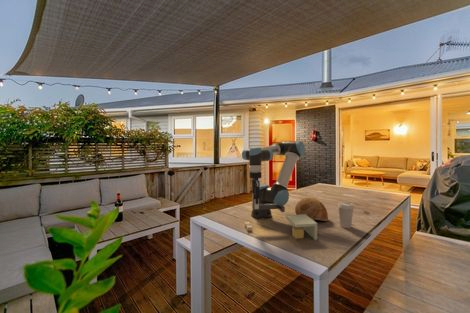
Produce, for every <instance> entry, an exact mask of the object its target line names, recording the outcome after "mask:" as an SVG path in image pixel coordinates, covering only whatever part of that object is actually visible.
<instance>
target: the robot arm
mask: <svg viewBox="0 0 470 313" xmlns="http://www.w3.org/2000/svg"><path fill="white" fill-rule="evenodd" d="M305 153H306V146H305V144H304V142H303V141H301V140H299V141H298V140H296V141H293V140H289V141H287V140H285V141H284V140H283V141H280V142H276V143H272V144H271V145H267V146H266V145H265V146H262V147H259V146H258V147H257V146H256V147H255V146H254V147H253V146H251V147H249V149H243V150H242V152H241V158H242V159H243V160H244V161H249V166H248V168H249V178H250V179H251V191H252V192H251V195H252V194H253V193H255V198H254V209H259V200H260V204H274V203H281V204H282V205H283V206H284V207H285V205H287V203H288V202H289V199H290V193H289V189H288V185H289V183H290V180H291V177H292V175H293V171H294V168H295V166H296V163H297V161H299V160H300V158H301V157H304V156H305V155H306V154H305ZM274 156H283V157H284V156H285V158H284V160H283V163H282V166H281V169H280V171H279V173H278V176H277V178H276V181H275V182H274V183H273V184H272V186H271V187H270V185H269V184H261V183H260V181H259V179H261V178H262V169H263V168H262V162H269V161H271V160H273V158H274ZM251 217H252V218H255V217H256V218H255V219H260V218H264V219H269V218H271V217H272V209H267V210H255V211H253V209H251Z"/></svg>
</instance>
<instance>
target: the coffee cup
mask: <svg viewBox="0 0 470 313" xmlns="http://www.w3.org/2000/svg"><path fill="white" fill-rule="evenodd" d="M337 207H338V213H339V214H338V216H339V226H340V228H344V229H351V228H352V224H353V223H352V222H353V216H354V215H353V213H354V209H355V206H354V204H353V202H352V203H351V202H347V201H344V202H343V201H341V202H339V203H338V205H337Z"/></svg>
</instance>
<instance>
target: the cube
mask: <svg viewBox="0 0 470 313" xmlns="http://www.w3.org/2000/svg"><path fill="white" fill-rule="evenodd" d="M291 231H292V233H291V234H292V236H293V238H294V239H303V238H304V234H305V230H304V229H303V227H294V226H292V230H291Z"/></svg>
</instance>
